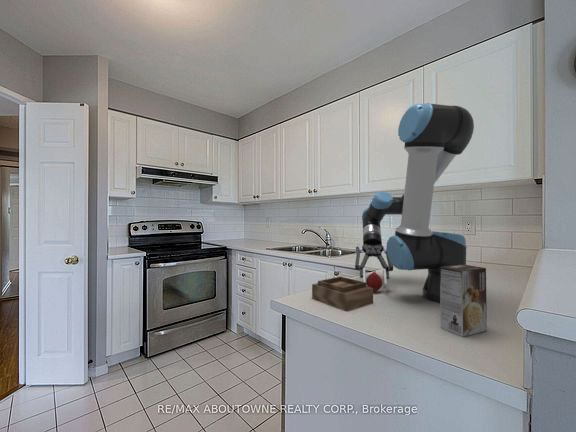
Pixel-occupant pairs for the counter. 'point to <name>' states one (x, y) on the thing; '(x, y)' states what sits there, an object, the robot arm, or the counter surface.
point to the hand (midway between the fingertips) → (374, 285)
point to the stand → (343, 293)
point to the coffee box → (463, 299)
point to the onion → (374, 281)
